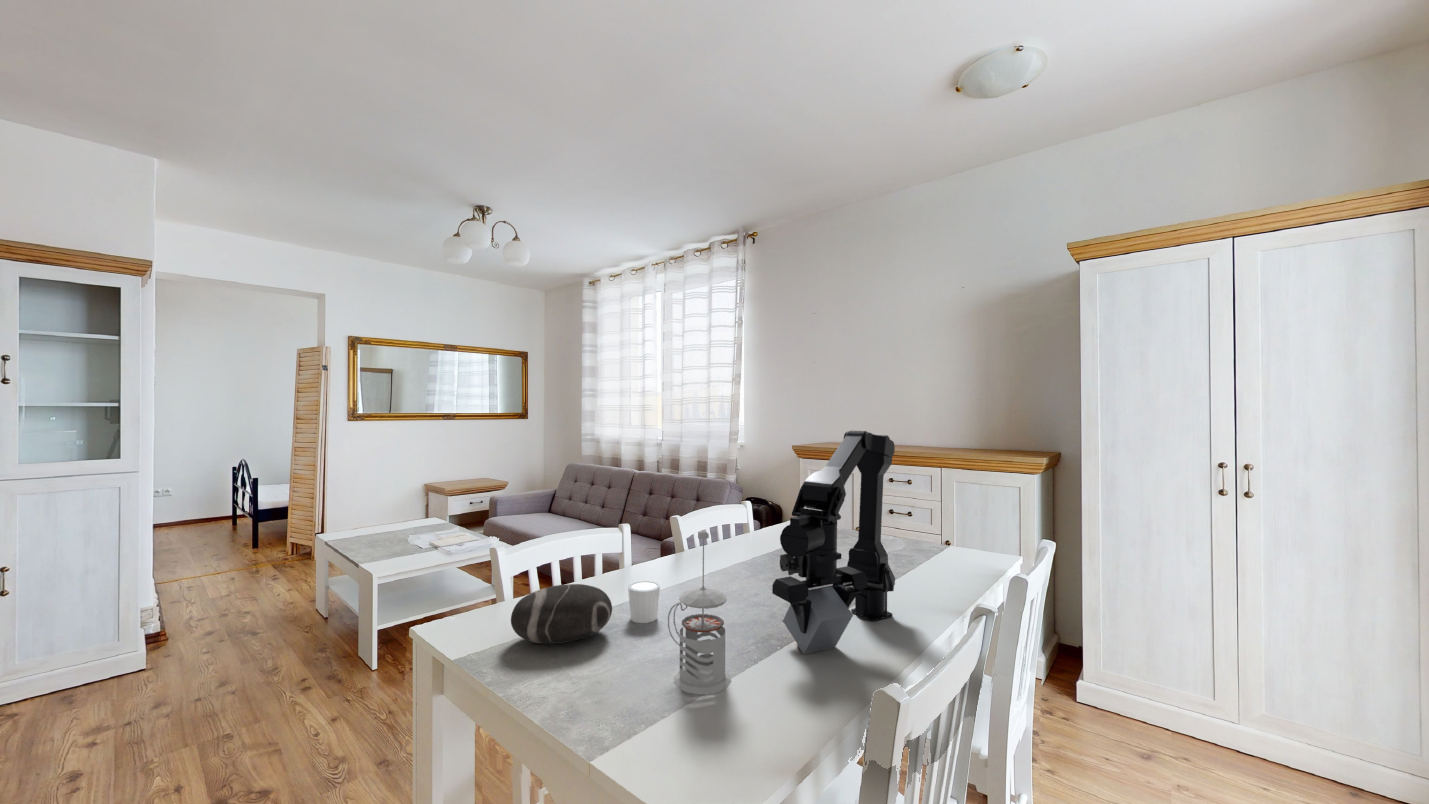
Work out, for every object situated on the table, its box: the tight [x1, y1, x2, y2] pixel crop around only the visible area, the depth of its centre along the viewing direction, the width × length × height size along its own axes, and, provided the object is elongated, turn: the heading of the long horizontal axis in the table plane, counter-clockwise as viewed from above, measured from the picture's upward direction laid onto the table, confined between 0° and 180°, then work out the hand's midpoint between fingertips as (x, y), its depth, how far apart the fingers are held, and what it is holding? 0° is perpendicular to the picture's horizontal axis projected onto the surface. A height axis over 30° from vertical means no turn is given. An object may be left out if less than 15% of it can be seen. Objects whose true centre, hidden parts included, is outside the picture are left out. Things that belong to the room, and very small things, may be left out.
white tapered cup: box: [627, 580, 661, 624], centre depth 121 cm, size 7×7×7 cm
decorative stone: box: [510, 583, 613, 644], centre depth 111 cm, size 19×14×10 cm
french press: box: [667, 530, 732, 695], centre depth 95 cm, size 10×12×25 cm
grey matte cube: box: [782, 586, 854, 655], centre depth 106 cm, size 8×8×9 cm
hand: (820, 628), depth 106 cm, fingers closed on grey matte cube, 8 cm apart
